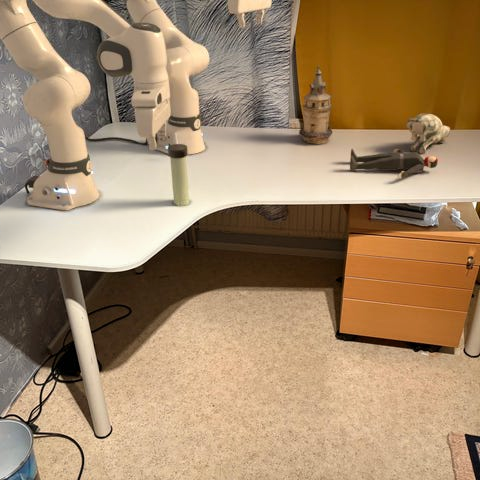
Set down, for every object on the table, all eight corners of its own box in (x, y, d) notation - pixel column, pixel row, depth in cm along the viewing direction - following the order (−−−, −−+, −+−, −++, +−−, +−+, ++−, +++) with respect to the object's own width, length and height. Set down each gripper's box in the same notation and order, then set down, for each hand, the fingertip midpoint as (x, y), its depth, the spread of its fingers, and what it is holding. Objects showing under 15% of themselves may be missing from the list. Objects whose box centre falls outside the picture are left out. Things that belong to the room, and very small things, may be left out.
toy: (351, 141, 203) (434, 141, 197) (350, 156, 206) (432, 157, 200) (349, 166, 181) (443, 167, 175) (349, 183, 184) (441, 185, 178)
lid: (190, 156, 161) (190, 148, 160) (172, 159, 159) (171, 151, 158) (183, 150, 166) (183, 142, 165) (165, 153, 164) (165, 145, 162)
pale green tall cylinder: (191, 203, 169) (187, 149, 161) (177, 207, 168) (172, 152, 159) (186, 198, 173) (182, 144, 164) (171, 201, 171) (167, 147, 162)
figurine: (436, 165, 204) (461, 137, 213) (424, 121, 195) (451, 94, 204) (414, 164, 211) (439, 137, 220) (401, 122, 202) (428, 96, 211)
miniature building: (320, 132, 228) (325, 59, 214) (338, 142, 217) (344, 66, 203) (293, 137, 224) (296, 63, 209) (310, 147, 213) (314, 69, 198)
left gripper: (151, 81, 146) (156, 131, 153) (128, 101, 129) (135, 156, 135) (173, 81, 146) (178, 131, 152) (154, 101, 128) (160, 156, 135)
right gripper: (260, -24, 177) (260, 21, 184) (223, -20, 162) (224, 29, 169) (276, -23, 174) (275, 22, 180) (240, -19, 159) (241, 30, 166)
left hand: (158, 143), depth 144 cm, fingers open, 8 cm apart
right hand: (250, 25), depth 175 cm, fingers open, 8 cm apart
